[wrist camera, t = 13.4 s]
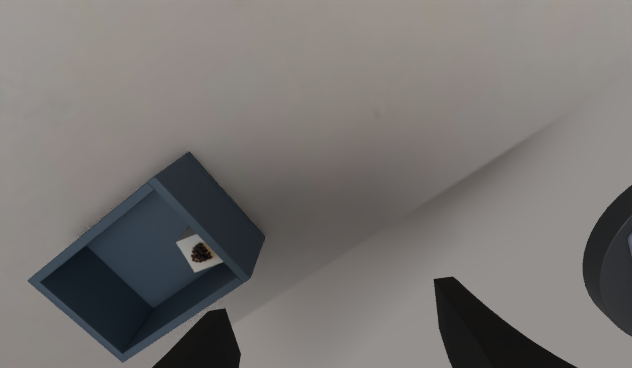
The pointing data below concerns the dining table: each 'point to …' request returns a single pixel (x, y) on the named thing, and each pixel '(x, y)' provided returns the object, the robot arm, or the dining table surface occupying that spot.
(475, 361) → the robot arm
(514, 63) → the dining table surface
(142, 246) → the bin
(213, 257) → the cube with brown bumps
